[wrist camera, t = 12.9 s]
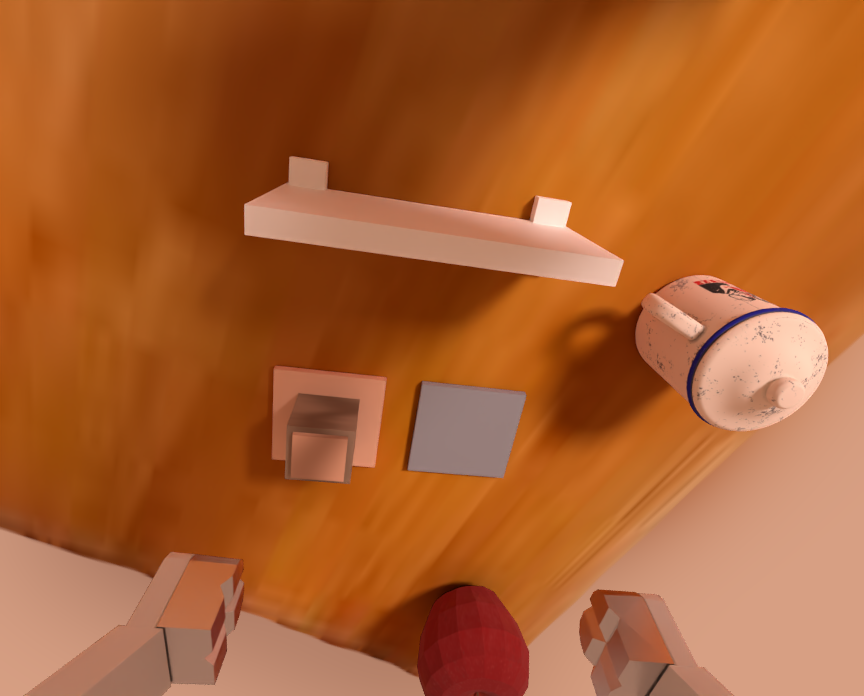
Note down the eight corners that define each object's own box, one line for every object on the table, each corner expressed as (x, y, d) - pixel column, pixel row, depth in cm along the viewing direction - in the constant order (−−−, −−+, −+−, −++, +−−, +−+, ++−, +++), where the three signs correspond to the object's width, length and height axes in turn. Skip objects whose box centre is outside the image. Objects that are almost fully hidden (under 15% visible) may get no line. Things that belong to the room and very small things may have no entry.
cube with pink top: (359, 399, 39) (355, 434, 34) (354, 447, 41) (349, 487, 36) (298, 393, 38) (285, 428, 34) (296, 442, 40) (283, 482, 36)
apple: (459, 546, 48) (477, 664, 37) (533, 586, 51) (568, 705, 41) (394, 606, 51) (394, 731, 41) (467, 640, 55) (485, 763, 44)
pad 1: (386, 377, 39) (386, 380, 38) (374, 463, 43) (374, 467, 42) (275, 365, 38) (273, 368, 37) (273, 454, 41) (271, 459, 41)
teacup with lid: (761, 305, 38) (898, 372, 28) (684, 388, 42) (781, 477, 31) (657, 229, 35) (769, 273, 25) (581, 326, 38) (651, 401, 28)
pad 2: (524, 391, 40) (526, 395, 40) (501, 473, 44) (503, 477, 44) (422, 381, 39) (422, 384, 39) (407, 465, 43) (407, 470, 42)
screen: (570, 201, 34) (634, 228, 25) (552, 268, 36) (605, 315, 27) (287, 155, 31) (243, 166, 22) (285, 230, 33) (244, 268, 24)
